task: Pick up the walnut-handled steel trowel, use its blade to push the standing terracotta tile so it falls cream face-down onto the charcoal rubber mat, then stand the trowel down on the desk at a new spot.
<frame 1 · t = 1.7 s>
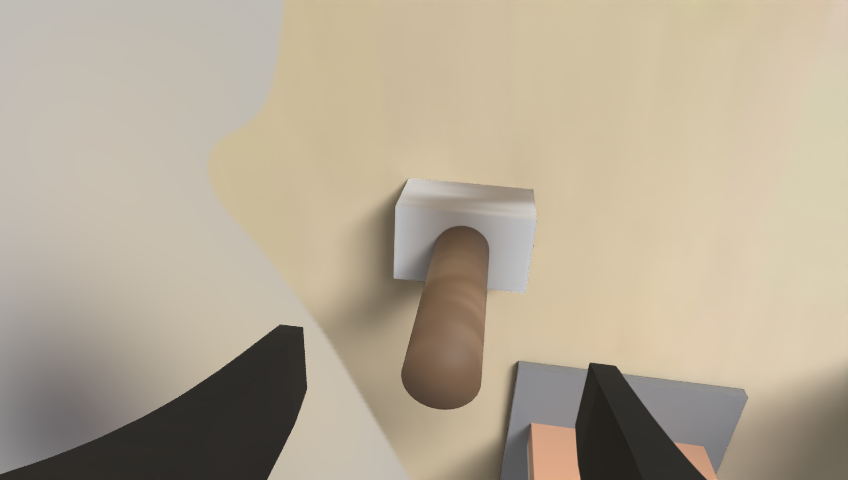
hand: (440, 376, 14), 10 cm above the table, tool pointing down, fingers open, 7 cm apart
tile: (612, 446, 26), resting on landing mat
trowel: (467, 217, 22), on the table
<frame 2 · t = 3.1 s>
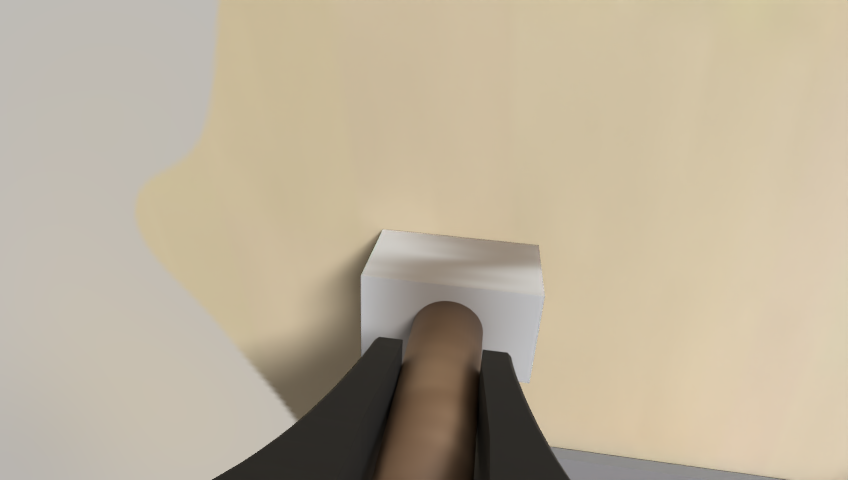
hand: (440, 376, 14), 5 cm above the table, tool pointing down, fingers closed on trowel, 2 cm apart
trowel: (456, 277, 18), on the table, touching gripper
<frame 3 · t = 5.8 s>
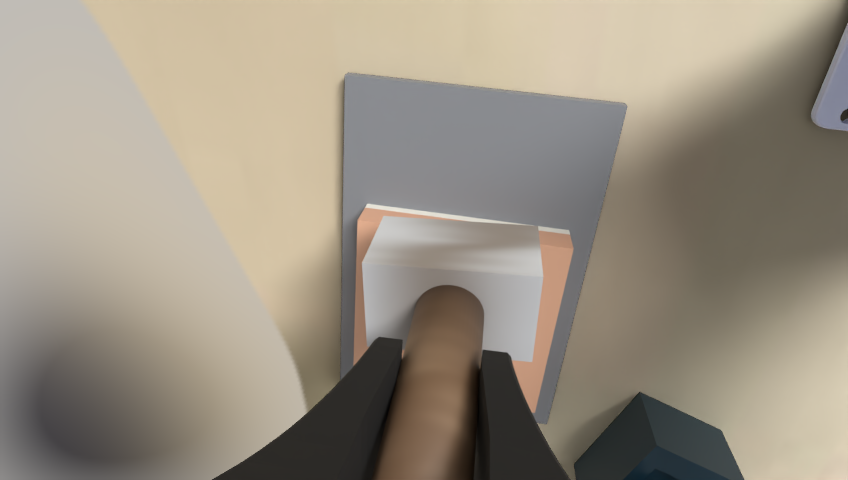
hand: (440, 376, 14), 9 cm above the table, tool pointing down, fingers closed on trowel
watch: (645, 445, 26), on the table
tile: (465, 225, 21), point 1 cm above the table, tilted 90°, touching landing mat
trowel: (457, 260, 18), point 4 cm above the table, touching gripper
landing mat: (460, 267, 23), on the table
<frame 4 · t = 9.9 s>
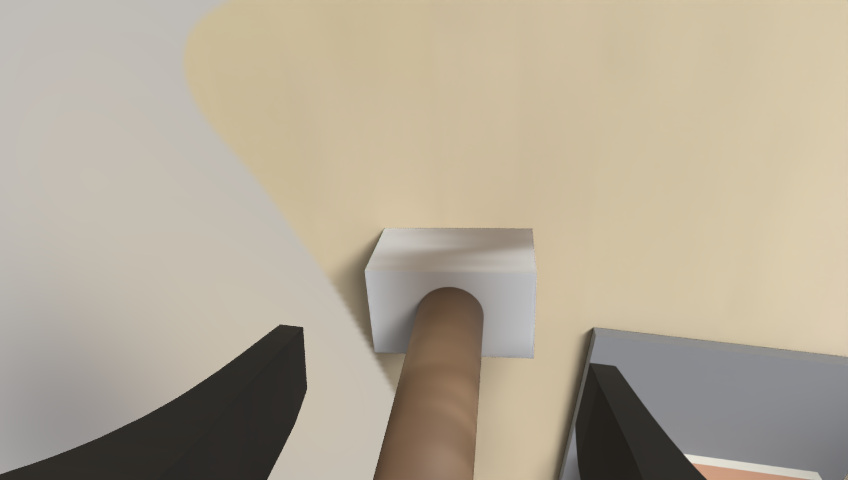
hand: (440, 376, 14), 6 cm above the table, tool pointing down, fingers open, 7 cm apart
tile: (712, 474, 20), point 1 cm above the table, tilted 90°, touching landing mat
trowel: (458, 267, 19), on the table
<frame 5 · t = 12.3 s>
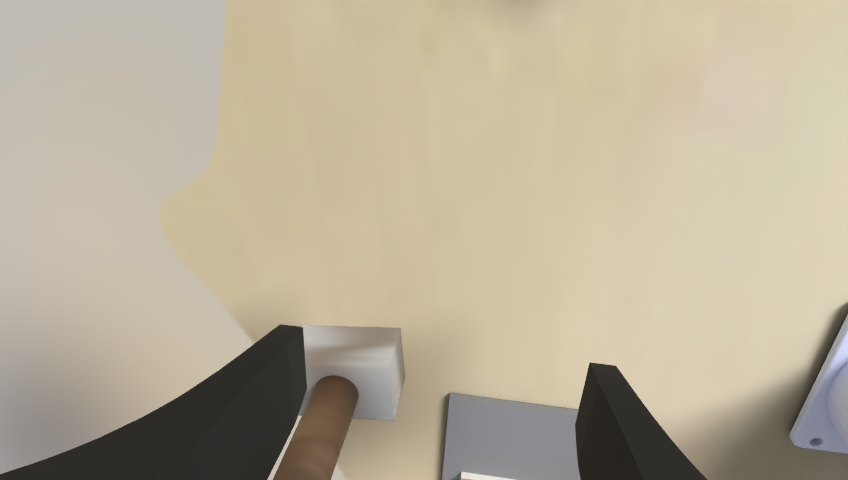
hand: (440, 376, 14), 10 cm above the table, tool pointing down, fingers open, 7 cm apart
trowel: (353, 351, 27), on the table
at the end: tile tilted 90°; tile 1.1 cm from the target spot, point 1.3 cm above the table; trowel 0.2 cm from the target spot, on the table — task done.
